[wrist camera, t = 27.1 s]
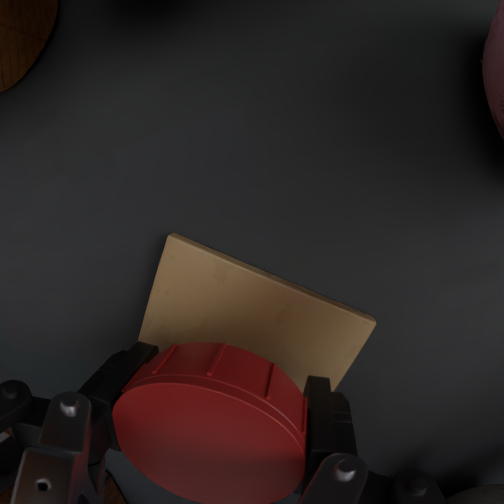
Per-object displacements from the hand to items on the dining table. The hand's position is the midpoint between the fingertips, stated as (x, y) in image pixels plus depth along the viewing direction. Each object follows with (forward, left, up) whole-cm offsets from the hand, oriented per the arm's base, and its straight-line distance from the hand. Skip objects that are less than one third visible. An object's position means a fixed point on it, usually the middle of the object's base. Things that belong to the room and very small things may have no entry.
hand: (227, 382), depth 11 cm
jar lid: (0, 0, +3) cm, 3 cm away
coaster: (0, 0, -2) cm, 2 cm away
